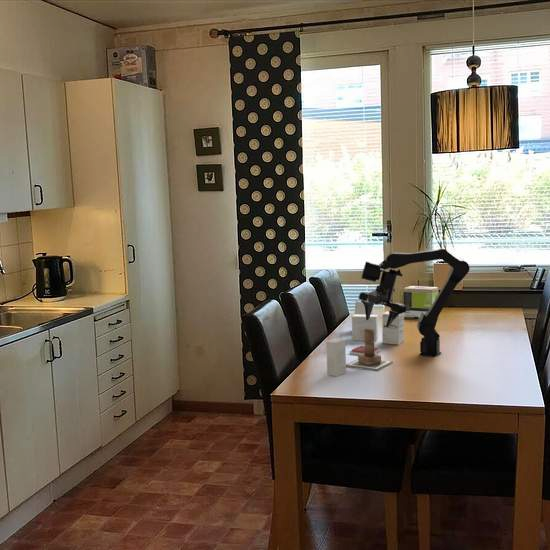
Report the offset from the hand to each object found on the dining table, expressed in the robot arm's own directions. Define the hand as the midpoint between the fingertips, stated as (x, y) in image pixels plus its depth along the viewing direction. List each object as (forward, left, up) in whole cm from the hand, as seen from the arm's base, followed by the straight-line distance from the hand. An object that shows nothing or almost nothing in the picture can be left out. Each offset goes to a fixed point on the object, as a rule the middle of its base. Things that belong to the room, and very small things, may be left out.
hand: (377, 323), depth 267 cm
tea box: (+15, -81, -12) cm, 83 cm away
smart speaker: (+24, -37, -12) cm, 46 cm away
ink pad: (+5, 0, -12) cm, 13 cm away
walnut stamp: (-4, +16, -12) cm, 20 cm away
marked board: (-4, +16, -12) cm, 20 cm away
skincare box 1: (0, +32, -12) cm, 35 cm away
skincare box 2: (+16, -22, -12) cm, 30 cm away
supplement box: (+3, -22, -12) cm, 25 cm away
